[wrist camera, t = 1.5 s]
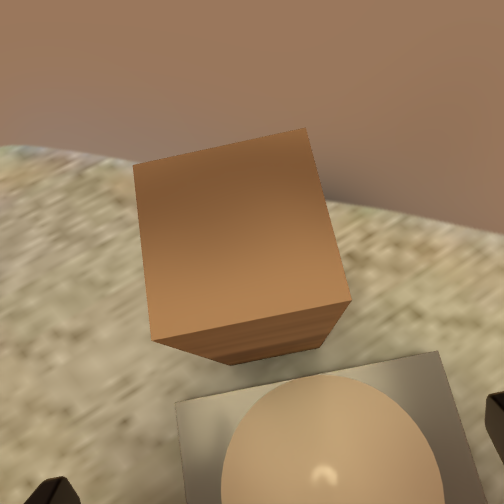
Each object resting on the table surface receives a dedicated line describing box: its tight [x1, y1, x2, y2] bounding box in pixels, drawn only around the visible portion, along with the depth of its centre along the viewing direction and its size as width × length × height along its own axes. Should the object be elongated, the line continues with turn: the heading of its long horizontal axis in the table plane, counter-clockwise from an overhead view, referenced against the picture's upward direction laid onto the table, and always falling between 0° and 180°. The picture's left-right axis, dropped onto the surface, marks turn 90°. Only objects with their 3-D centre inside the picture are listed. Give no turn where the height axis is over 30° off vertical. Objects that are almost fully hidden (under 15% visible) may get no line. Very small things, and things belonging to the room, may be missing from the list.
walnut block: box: [133, 128, 352, 366], centre depth 16 cm, size 4×4×12 cm
